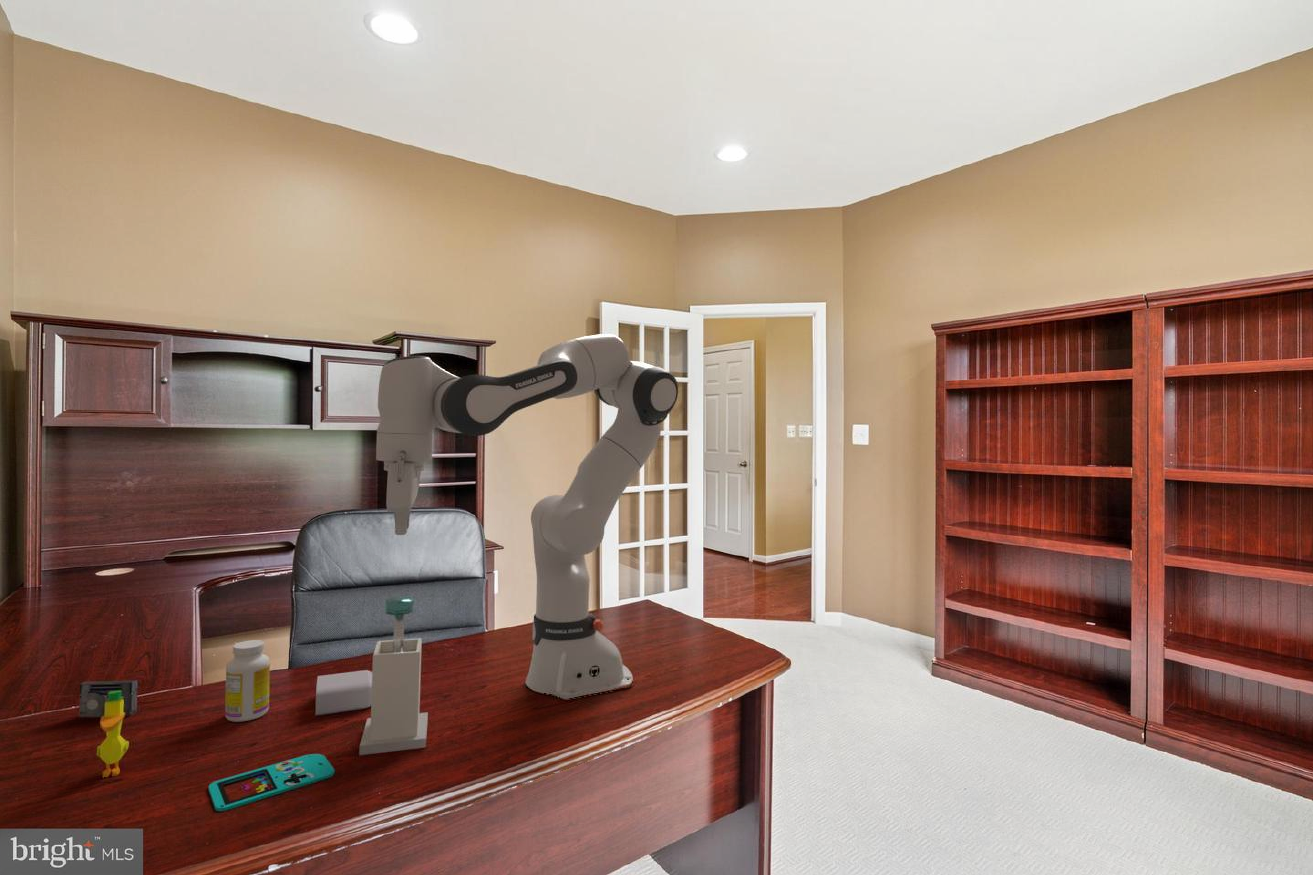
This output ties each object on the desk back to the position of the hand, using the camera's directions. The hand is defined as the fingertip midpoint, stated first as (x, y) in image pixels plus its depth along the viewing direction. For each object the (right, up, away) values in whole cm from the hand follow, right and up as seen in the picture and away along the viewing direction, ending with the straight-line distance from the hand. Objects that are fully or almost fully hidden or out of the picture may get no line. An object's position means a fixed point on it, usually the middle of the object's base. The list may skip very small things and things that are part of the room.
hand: (402, 531), depth 107 cm
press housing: (-1, -35, 0) cm, 35 cm away
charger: (-14, -35, +14) cm, 40 cm away
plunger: (-1, -24, 0) cm, 24 cm away
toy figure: (-38, -34, -14) cm, 53 cm away
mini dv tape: (-54, -34, +5) cm, 64 cm away
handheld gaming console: (-13, -35, -14) cm, 40 cm away
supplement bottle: (-31, -34, +6) cm, 46 cm away
